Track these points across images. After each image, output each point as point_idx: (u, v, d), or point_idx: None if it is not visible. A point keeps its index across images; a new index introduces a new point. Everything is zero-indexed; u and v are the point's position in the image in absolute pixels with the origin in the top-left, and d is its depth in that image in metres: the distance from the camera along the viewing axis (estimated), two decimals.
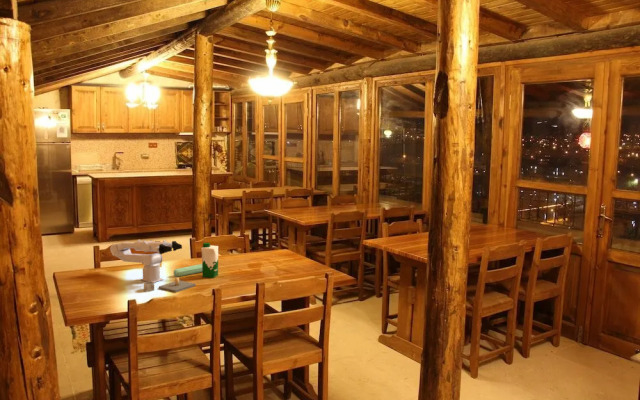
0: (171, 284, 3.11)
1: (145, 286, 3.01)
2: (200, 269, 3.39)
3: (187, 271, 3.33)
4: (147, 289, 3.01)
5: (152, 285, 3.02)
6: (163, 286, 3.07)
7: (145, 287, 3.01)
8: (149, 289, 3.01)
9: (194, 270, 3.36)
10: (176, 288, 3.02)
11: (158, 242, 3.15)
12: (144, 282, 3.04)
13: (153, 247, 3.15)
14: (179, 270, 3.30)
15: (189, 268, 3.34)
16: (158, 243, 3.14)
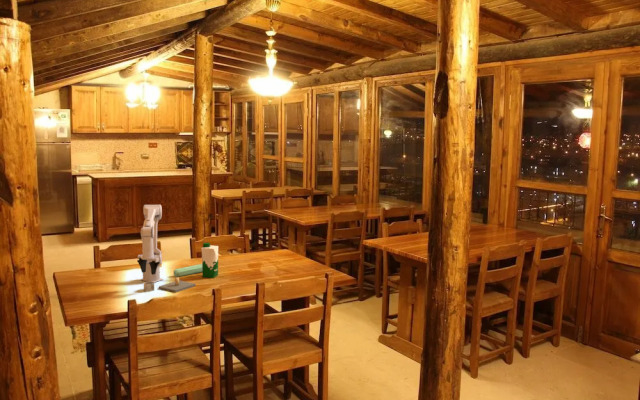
0: (171, 284, 3.11)
1: (145, 286, 3.01)
2: (200, 269, 3.39)
3: (187, 271, 3.33)
4: (147, 289, 3.01)
5: (152, 285, 3.02)
6: (163, 286, 3.07)
7: (145, 287, 3.01)
8: (149, 289, 3.01)
9: (194, 270, 3.36)
10: (176, 288, 3.02)
11: (142, 250, 2.99)
12: (144, 282, 3.04)
13: (142, 246, 3.00)
14: (179, 270, 3.30)
15: (189, 268, 3.34)
16: None
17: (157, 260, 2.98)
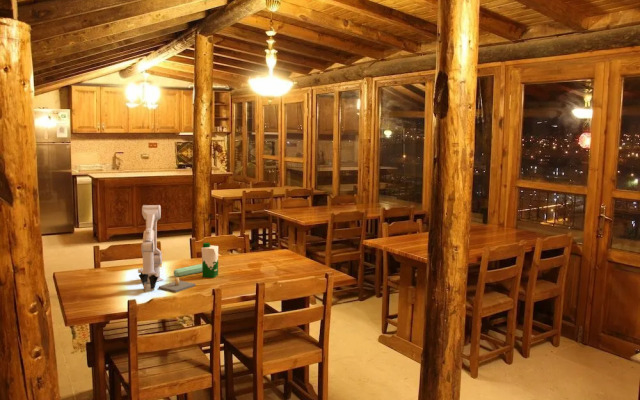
0: (171, 284, 3.11)
1: (145, 286, 3.01)
2: (200, 269, 3.39)
3: (187, 271, 3.33)
4: (147, 289, 3.01)
5: None
6: (163, 286, 3.07)
7: (145, 287, 3.01)
8: (149, 289, 3.01)
9: (194, 270, 3.36)
10: (176, 288, 3.02)
11: (143, 265, 3.00)
12: (144, 282, 3.04)
13: None
14: (179, 270, 3.30)
15: (189, 268, 3.34)
16: None
17: (157, 275, 2.99)
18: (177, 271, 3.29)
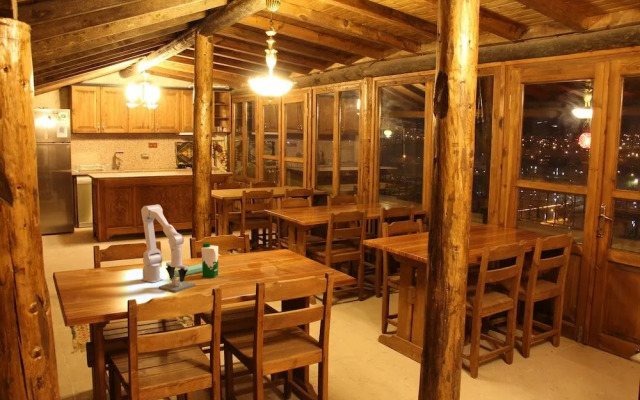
0: (171, 284, 3.11)
1: (173, 281, 3.07)
2: (200, 269, 3.39)
3: (188, 271, 3.33)
4: (175, 284, 3.07)
5: None
6: (163, 286, 3.07)
7: (173, 282, 3.07)
8: (177, 284, 3.07)
9: (194, 270, 3.36)
10: (176, 288, 3.02)
11: (171, 258, 3.05)
12: None
13: (172, 254, 3.05)
14: None
15: (189, 268, 3.34)
16: (171, 259, 3.06)
17: (186, 268, 3.04)
18: None
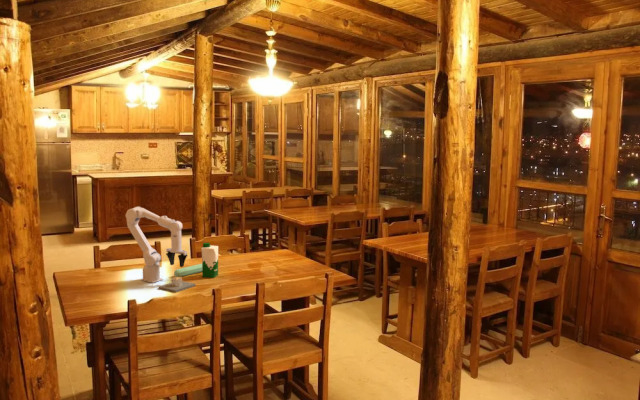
0: (171, 284, 3.11)
1: (173, 281, 3.07)
2: (200, 269, 3.39)
3: (188, 271, 3.33)
4: (175, 284, 3.07)
5: (180, 280, 3.08)
6: (163, 286, 3.07)
7: (173, 282, 3.07)
8: (177, 284, 3.07)
9: (194, 270, 3.36)
10: (176, 288, 3.02)
11: (171, 244, 3.15)
12: None
13: (174, 240, 3.14)
14: (180, 270, 3.29)
15: (189, 268, 3.34)
16: (171, 245, 3.16)
17: (185, 253, 3.14)
18: (178, 271, 3.28)
